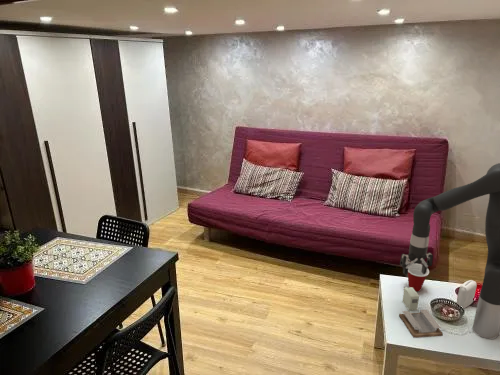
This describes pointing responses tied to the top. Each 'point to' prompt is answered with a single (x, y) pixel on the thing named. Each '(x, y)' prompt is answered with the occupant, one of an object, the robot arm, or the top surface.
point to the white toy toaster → (466, 293)
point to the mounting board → (414, 332)
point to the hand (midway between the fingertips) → (414, 273)
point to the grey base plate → (422, 321)
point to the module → (410, 298)
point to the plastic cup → (416, 276)
